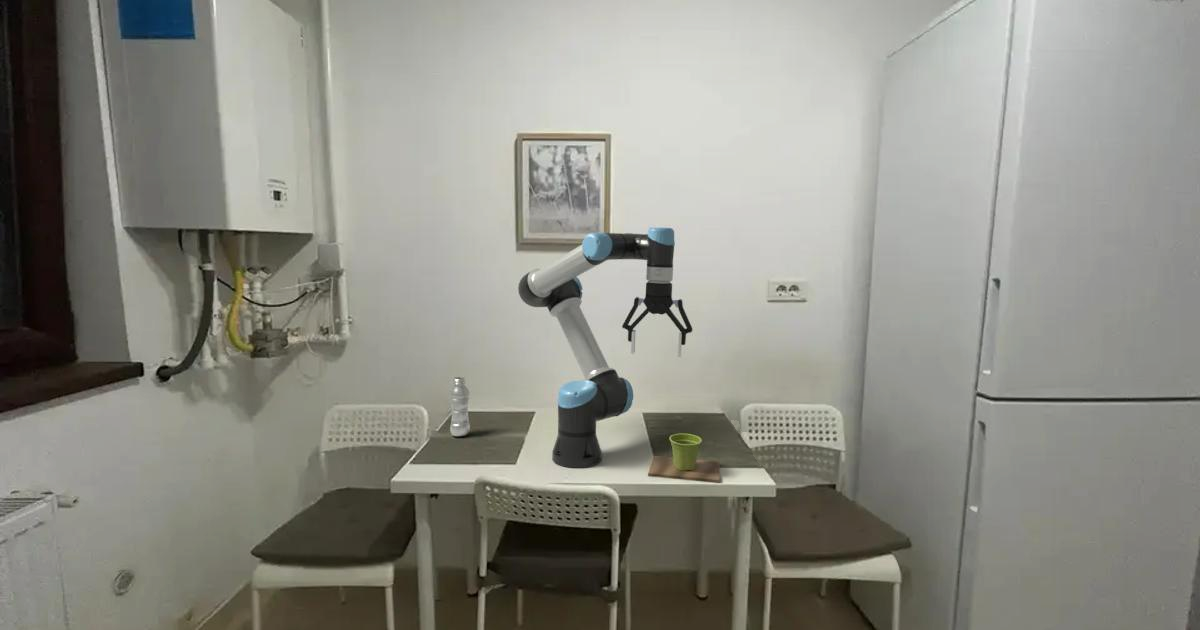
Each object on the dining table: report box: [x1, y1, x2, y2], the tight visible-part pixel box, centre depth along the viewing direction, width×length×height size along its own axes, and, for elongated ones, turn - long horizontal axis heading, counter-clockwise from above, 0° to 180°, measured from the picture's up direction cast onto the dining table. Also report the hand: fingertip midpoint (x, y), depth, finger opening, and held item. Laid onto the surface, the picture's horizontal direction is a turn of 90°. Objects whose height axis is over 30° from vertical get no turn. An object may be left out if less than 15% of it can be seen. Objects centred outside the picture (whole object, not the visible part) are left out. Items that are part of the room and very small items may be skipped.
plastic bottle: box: [449, 376, 471, 437], centre depth 194 cm, size 6×7×20 cm
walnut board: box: [647, 455, 721, 484], centre depth 167 cm, size 20×14×1 cm
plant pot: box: [669, 433, 703, 471], centre depth 167 cm, size 9×9×9 cm
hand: (655, 354), depth 166 cm, fingers open, 13 cm apart
